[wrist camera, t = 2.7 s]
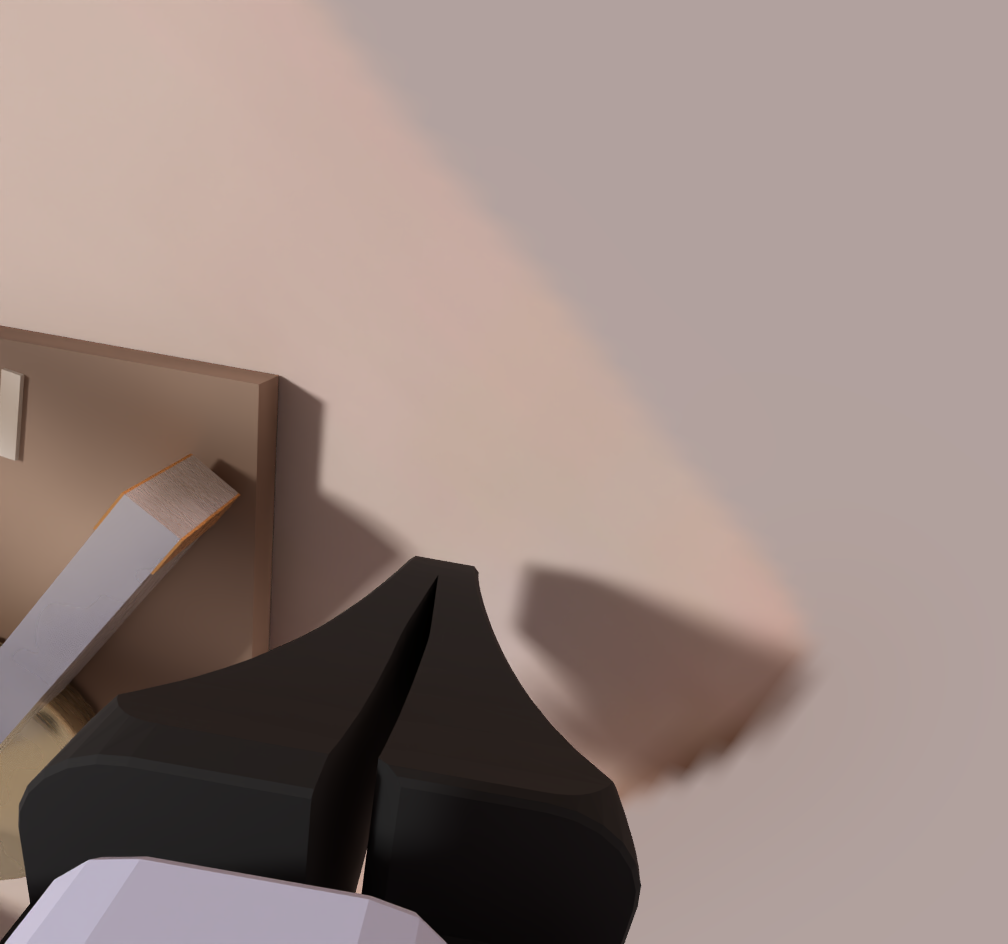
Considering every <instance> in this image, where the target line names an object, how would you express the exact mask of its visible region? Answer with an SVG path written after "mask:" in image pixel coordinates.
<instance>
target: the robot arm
mask: <svg viewBox="0 0 1008 944" xmlns="http://www.w3.org/2000/svg"><path fill="white" fill-rule="evenodd" d="M478 573H479V572H478V571H477V570H476V568H475V567H474V566H469V565H463V564H458V563H452V562H447V561H441V560H435V559H430V558H424V557H419V556H415V557H413V558H412V559H410V560H409V561H408V562H407V563H406V564H405V565H403V566H402V567H401V568H400V569H399V570H398V571H397V572H396V573H394V574H393V575H392V576H391V577H390V578H388V579H387V580H386V581H385V582H384V583H382V584H381V585H380V586H379V587H377V588H376V589H375V590H373V591H372V592H371V593H370V594H368V595H367V596H366V597H364V598H363V599H362V600H360V601H359V602H358V603H356V604H355V605H353V606H352V607H350V608H349V609H347V610H346V611H344V612H343V613H341V614H340V615H338V616H337V617H335V618H334V619H332V620H331V621H329V622H327V623H326V624H324V625H322V626H321V627H319V628H317V629H315V630H313V631H311V632H309V633H308V634H306V635H304V636H302V637H300V638H298V639H296V640H294V641H292V642H289V643H287V644H285V645H282V646H280V647H277V648H275V649H273V650H270V651H268V652H266V653H263V654H261V655H258V656H256V657H254V658H251V659H249V660H246V661H243V662H240V663H237V664H234V665H231V666H228V667H226V668H223V669H219V670H216V671H213V672H209V673H206V674H203V675H200V676H196V677H192V678H189V679H185V680H181V681H177V682H172V683H168V684H164V685H159V686H155V687H151V688H146V689H142V690H137V691H133V692H128V693H123V694H118V695H117V696H116V697H115V698H114V699H113V700H112V701H110V702H109V703H108V704H107V705H106V706H105V707H104V708H103V709H102V710H100V711H99V712H98V713H97V714H96V715H95V716H94V717H93V718H92V719H91V720H90V721H89V722H88V723H87V724H86V725H85V726H84V727H83V728H82V729H81V730H80V731H79V732H78V733H77V734H76V735H75V736H74V737H73V738H72V739H71V740H70V741H69V742H68V743H67V744H66V745H65V746H64V748H63V749H62V750H61V751H60V752H59V753H58V754H57V755H56V756H55V757H54V758H53V759H52V760H51V761H50V762H49V763H48V764H47V765H46V766H45V767H44V768H43V769H42V770H41V772H40V773H39V774H38V775H37V776H36V777H35V778H34V779H33V780H32V781H31V782H30V783H29V784H28V785H27V787H26V790H25V792H24V794H23V796H22V799H21V801H20V803H19V817H18V828H19V834H20V841H21V847H22V854H23V860H24V866H25V873H26V879H27V885H28V892H29V898H30V905H29V906H28V907H27V908H26V910H25V911H24V912H23V913H22V915H21V916H20V917H19V919H18V920H17V921H16V922H15V924H14V925H13V926H12V927H11V929H10V930H9V931H8V932H7V934H6V935H5V936H4V938H3V939H2V940H1V941H0V944H624V943H625V940H626V937H627V934H628V932H629V929H630V926H631V923H632V920H633V917H634V915H635V912H636V909H637V907H638V900H639V895H640V888H641V883H640V877H639V867H638V862H637V856H636V851H635V847H634V843H633V839H632V836H631V832H630V829H629V826H628V823H627V819H626V815H625V812H624V809H623V807H622V804H621V801H620V798H619V795H618V792H617V789H616V787H615V784H614V783H613V781H611V780H610V779H609V778H608V777H607V776H606V775H604V774H603V773H602V772H601V771H600V770H599V769H597V768H596V767H595V766H594V765H593V764H592V763H591V762H589V761H588V760H587V759H586V758H585V757H584V756H582V755H581V754H580V753H579V752H578V751H577V750H576V749H574V748H573V747H572V746H571V745H570V744H569V743H568V742H567V740H566V739H565V738H564V737H563V736H562V735H561V734H560V733H559V732H558V731H557V730H556V729H555V728H554V727H553V726H552V725H551V724H550V722H549V721H548V720H547V719H546V718H545V716H544V715H543V714H542V713H541V711H540V710H539V709H538V708H537V706H536V705H535V704H534V703H533V701H532V700H531V699H530V697H529V696H528V694H527V693H526V691H525V690H524V688H523V687H522V685H521V684H520V682H519V681H518V679H517V677H516V676H515V674H514V672H513V671H512V669H511V667H510V665H509V663H508V662H507V660H506V658H505V656H504V654H503V652H502V650H501V648H500V645H499V643H498V641H497V639H496V637H495V634H494V632H493V629H492V627H491V624H490V621H489V618H488V616H487V613H486V610H485V607H484V603H483V600H482V596H481V592H480V587H479V580H478ZM366 850H367V855H366V863H365V871H364V879H363V887H362V894H357V893H355V892H356V888H357V884H358V881H359V877H360V873H361V869H362V865H363V862H364V858H365V854H366Z"/></svg>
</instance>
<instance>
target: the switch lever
mask: <svg viewBox="0 0 1008 944" xmlns="http://www.w3.org/2000/svg"><path fill="white" fill-rule="evenodd" d="M239 496H240V494H239V493H238V492H237V491H235V490H234V489H233V488H232V487H231V486H229V485H228V484H227V483H226V482H225V481H223V480H222V479H221V478H220V477H219V476H217V475H216V474H215V473H214V472H213V471H211V470H210V469H209V468H208V467H207V466H205V465H204V464H203V463H202V462H201V461H199V460H198V459H197V458H196V457H195V456H193V455H192V454H189V455H187V456H185V457H184V458H182V459H180V460H178V461H177V462H175V463H173V464H171V465H170V466H168V467H166V468H164V469H163V470H161V471H159V472H157V473H155V474H154V475H152V476H150V477H148V478H147V479H145V480H143V481H141V482H140V483H138V484H136V485H134V486H133V487H131V488H129V489H127V490H126V491H124V492H122V493H121V494H120V496H119V497H118V498H117V499H116V500H115V502H114V503H113V504H112V505H111V507H110V508H109V509H108V510H107V512H106V513H105V514H104V515H103V517H102V518H101V519H100V520H99V522H98V523H97V524H96V525H95V527H94V528H93V529H94V530H95V531H94V533H93V534H92V535H91V536H90V537H89V539H88V540H87V541H86V542H85V544H84V545H83V546H82V547H81V549H80V550H79V551H78V552H77V554H76V555H75V556H74V557H73V558H72V560H71V561H70V562H69V563H68V565H67V566H66V567H65V568H64V570H63V571H62V572H61V573H60V575H59V576H58V577H57V578H56V579H55V581H54V582H53V583H52V584H51V586H50V587H49V588H48V589H47V591H46V592H45V593H44V594H43V596H42V597H41V598H40V599H39V600H38V602H37V603H36V604H35V605H34V607H33V608H32V609H31V610H30V612H29V613H28V614H27V615H26V617H25V618H24V619H23V620H22V621H21V623H20V624H19V625H18V626H17V628H16V629H15V630H14V631H13V633H12V634H11V635H10V636H9V638H8V639H7V640H6V641H5V642H4V644H3V643H1V642H0V880H7V879H17V878H22V877H26V873H25V866H24V860H23V854H22V847H21V841H20V834H19V828H18V817H19V803H20V801H21V799H22V796H23V794H24V792H25V790H26V787H27V785H28V784H29V783H30V782H31V781H32V780H33V779H34V778H35V777H36V776H37V775H38V774H39V773H40V772H41V770H42V769H43V768H44V767H45V766H46V765H47V764H48V763H49V762H50V761H51V760H52V759H53V758H54V757H55V756H56V755H57V754H58V753H59V752H60V751H61V750H62V749H63V748H64V746H65V745H66V744H67V743H68V742H69V741H70V740H71V739H72V738H73V737H74V736H75V735H76V734H77V733H78V732H79V731H80V730H81V729H82V728H83V727H84V726H85V725H86V724H87V723H88V722H89V721H90V720H91V719H92V718H93V717H94V716H95V715H96V713H95V712H94V711H93V709H92V708H91V706H90V705H89V704H88V703H87V702H86V700H85V699H84V698H83V697H82V696H81V695H80V694H79V692H77V691H76V690H75V689H74V688H73V687H72V686H71V685H70V684H69V683H70V682H71V681H72V680H73V678H74V677H75V676H76V675H77V674H78V673H79V672H80V671H81V670H82V668H83V667H84V666H85V665H86V664H87V663H88V662H89V661H90V659H91V658H92V657H93V656H94V655H95V654H96V653H97V652H98V650H99V649H100V648H101V647H102V646H103V645H104V644H105V643H106V641H107V640H108V639H109V638H110V637H111V636H112V635H113V634H114V633H115V631H116V630H117V629H118V628H119V627H120V626H121V625H122V624H123V622H124V621H125V620H126V619H127V618H128V617H129V616H130V615H131V613H132V612H133V611H134V610H135V609H136V608H137V607H138V606H139V604H140V603H141V602H142V601H143V600H144V599H145V598H146V597H147V596H148V594H149V593H150V592H151V591H152V590H153V589H154V588H155V587H156V585H157V584H158V583H159V582H160V581H161V580H162V579H163V578H164V576H165V575H166V574H167V573H168V572H169V571H170V570H171V569H172V567H173V566H174V565H175V564H176V563H177V562H178V561H179V560H180V559H181V557H182V556H183V555H184V554H185V553H186V552H187V551H188V550H189V548H190V547H191V546H192V545H193V544H194V543H195V542H196V541H197V539H198V538H199V537H200V536H201V535H202V534H203V533H204V532H205V531H207V530H208V529H209V528H210V527H212V526H213V525H214V524H215V523H216V522H217V521H218V519H219V518H220V517H221V516H222V515H223V514H224V513H225V512H226V511H227V509H228V508H229V507H230V506H231V505H232V504H233V503H234V502H235V500H236V499H237V498H238V497H239Z"/></svg>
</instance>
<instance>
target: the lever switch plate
mask: <svg viewBox="0 0 1008 944" xmlns="http://www.w3.org/2000/svg"><path fill="white" fill-rule="evenodd" d="M278 384H279V375H274V374H268V373H263V372H257V371H251V370H246V369H240V368H235V367H229V366H223V365H218V364H212V363H207V362H201V361H195V360H190V359H184V358H179V357H173V356H167V355H162V354H156V353H151V352H145V351H139V350H134V349H128V348H123V347H117V346H111V345H106V344H100V343H95V342H89V341H84V340H78V339H72V338H67V337H61V336H56V335H50V334H44V333H39V332H33V331H28V330H22V329H16V328H11V327H5V326H0V642H1V643H3V644H4V642H5V641H6V640H7V639H8V638H9V636H10V635H11V634H12V633H13V631H14V630H15V629H16V628H17V626H18V625H19V624H20V623H21V621H22V620H23V619H24V618H25V617H26V615H27V614H28V613H29V612H30V610H31V609H32V608H33V607H34V605H35V604H36V603H37V602H38V600H39V599H40V598H41V597H42V596H43V594H44V593H45V592H46V591H47V589H48V588H49V587H50V586H51V584H52V583H53V582H54V581H55V579H56V578H57V577H58V576H59V575H60V573H61V572H62V571H63V570H64V568H65V567H66V566H67V565H68V563H69V562H70V561H71V560H72V558H73V557H74V556H75V555H76V554H77V552H78V551H79V550H80V549H81V547H82V546H83V545H84V544H85V542H86V541H87V540H88V539H89V537H90V536H91V535H92V534H93V533H94V531H95V530H94V529H93V528H94V527H95V525H96V524H97V523H98V522H99V520H100V519H101V518H102V517H103V515H104V514H105V513H106V512H107V510H108V509H109V508H110V507H111V505H112V504H113V503H114V502H115V500H116V499H117V498H118V497H119V496H120V494H121V493H122V492H124V491H126V490H127V489H129V488H131V487H133V486H134V485H136V484H138V483H140V482H141V481H143V480H145V479H147V478H148V477H150V476H152V475H154V474H155V473H157V472H159V471H161V470H163V469H164V468H166V467H168V466H170V465H171V464H173V463H175V462H177V461H178V460H180V459H182V458H184V457H185V456H187V455H189V454H192V455H193V456H195V457H196V458H197V459H198V460H199V461H201V462H202V463H203V464H204V465H205V466H207V467H208V468H209V469H210V470H211V471H213V472H214V473H215V474H216V475H217V476H219V477H220V478H221V479H222V480H223V481H225V482H226V483H227V484H228V485H229V486H231V487H232V488H233V489H234V490H235V491H237V492H238V493H239V494H240V496H239V497H238V498H237V499H236V500H235V502H234V503H233V504H232V505H231V506H230V507H229V508H228V509H227V511H226V512H225V513H224V514H223V515H222V516H221V517H220V518H219V519H218V521H217V522H216V523H215V524H214V525H213V526H212V527H210V528H209V529H208V530H207V531H205V532H204V533H203V534H202V535H201V536H200V537H199V538H198V539H197V541H196V542H195V543H194V544H193V545H192V546H191V547H190V548H189V550H188V551H187V552H186V553H185V554H184V555H183V556H182V557H181V559H180V560H179V561H178V562H177V563H176V564H175V565H174V566H173V567H172V569H171V570H170V571H169V572H168V573H167V574H166V575H165V576H164V578H163V579H162V580H161V581H160V582H159V583H158V584H157V585H156V587H155V588H154V589H153V590H152V591H151V592H150V593H149V594H148V596H147V597H146V598H145V599H144V600H143V601H142V602H141V603H140V604H139V606H138V607H137V608H136V609H135V610H134V611H133V612H132V613H131V615H130V616H129V617H128V618H127V619H126V620H125V621H124V622H123V624H122V625H121V626H120V627H119V628H118V629H117V630H116V631H115V633H114V634H113V635H112V636H111V637H110V638H109V639H108V640H107V641H106V643H105V644H104V645H103V646H102V647H101V648H100V649H99V650H98V652H97V653H96V654H95V655H94V656H93V657H92V658H91V659H90V661H89V662H88V663H87V664H86V665H85V666H84V667H83V668H82V670H81V671H80V672H79V673H78V674H77V675H76V676H75V677H74V678H73V680H72V681H71V682H70V683H69V684H70V685H71V686H72V687H73V688H74V689H75V690H76V691H77V692H79V694H80V695H81V696H82V697H83V698H84V699H85V700H86V702H87V703H88V704H89V705H90V706H91V708H92V709H93V711H94V712H95V713H96V714H97V713H98V712H99V711H100V710H102V709H103V708H104V707H105V706H106V705H107V704H108V703H109V702H110V701H112V700H113V699H114V698H115V697H116V696H117V695H118V694H123V693H128V692H133V691H137V690H142V689H146V688H151V687H155V686H159V685H164V684H168V683H172V682H177V681H181V680H185V679H189V678H192V677H196V676H200V675H203V674H206V673H209V672H213V671H216V670H219V669H223V668H226V667H228V666H231V665H234V664H237V663H240V662H243V661H246V660H249V659H251V658H254V657H256V656H258V655H261V654H263V653H266V652H268V651H269V627H270V600H271V573H272V546H273V519H274V492H275V465H276V438H277V411H278Z"/></svg>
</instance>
